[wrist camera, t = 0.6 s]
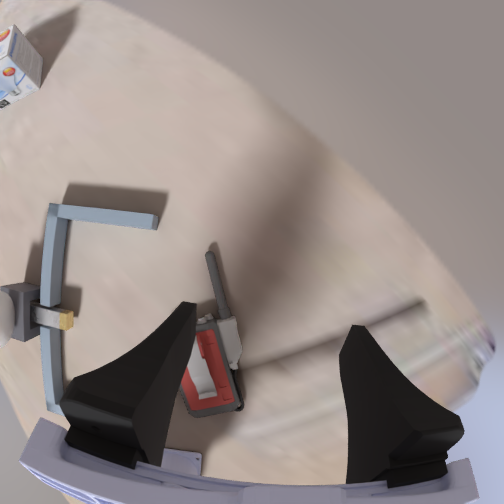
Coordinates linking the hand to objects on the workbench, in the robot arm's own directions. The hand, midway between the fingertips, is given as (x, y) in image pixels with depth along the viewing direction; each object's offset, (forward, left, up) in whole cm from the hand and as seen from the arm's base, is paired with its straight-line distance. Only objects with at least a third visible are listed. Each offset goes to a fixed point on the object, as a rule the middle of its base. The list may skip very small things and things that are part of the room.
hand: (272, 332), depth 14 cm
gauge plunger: (-7, +24, -21) cm, 32 cm away
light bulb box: (+25, +39, -22) cm, 51 cm away
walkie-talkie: (-7, +3, -23) cm, 24 cm away
